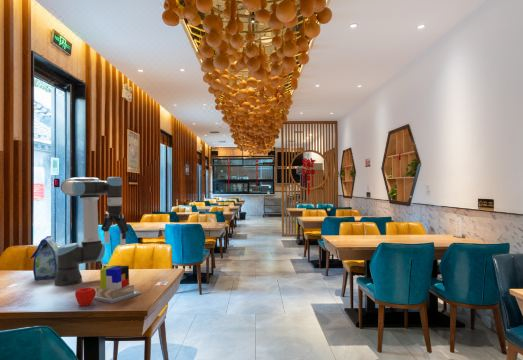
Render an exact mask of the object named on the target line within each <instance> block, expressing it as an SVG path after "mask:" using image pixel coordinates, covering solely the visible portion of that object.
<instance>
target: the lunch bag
mask: <svg viewBox="0 0 523 360" xmlns="http://www.w3.org/2000/svg"><path fill="white" fill-rule="evenodd" d="M58 248H59V247H58V243H57V242H56V239H55V238H54V236H51V235H48V236H45V238H42V239H41V240H40V242H39V244H37V246H36V249H35V251H34V252H33V253H32V255H31V256H30V259H33V265H32V266H33V267H32V270H33V278H34V280H35V281H39V280H42V279H48V278H49V279H55V277H56V274H57V271H58V261H57V251H58ZM38 279H39V280H38Z"/></svg>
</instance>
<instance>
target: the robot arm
mask: <svg viewBox="0 0 523 360" xmlns="http://www.w3.org/2000/svg"><path fill="white" fill-rule="evenodd" d="M122 190H123V180H122V177H120V176H109V177H107V178H106V180H101V179H100V178H98V177H92V176H91V177H70V178H66V179H64V180H63V181H62V182H61V183H60V191H61V192H62V193H63V194H64V195H66V196H71V197H79V199H80V200H81V202H82V214H83V216H82V217H83V218H82V219H83V220H82V222H83V223H82V224H83V240H82V241H81V242H80V243H81V244H79V243H78V242H73V243H67V244H63V245H61V246H59V247H58V251H57V261H58V271H57V274H56V277H55V278H54V282H53V283H54V285H55V286H71V285H75V284H79V283H82V282H83V277H82V274H81V270H80V268H79V267H80V264H89V263H90V264H91V263H96V262H100V261H103V259H104V256H105V253H106V252H105V251H106V247H105V244H110V228H111V227H112V224H113V223H115V224H116V225H117V227H118V229H119V230H120V231H119V232H120V234H119V237H120V238H119V239H120V241H119V243H120V246H126V239H127V233H128V232H129V231H130V229H129V226H128V223H127V220H126V215H125V214H124V213H123V214H121V213H122V212H123V206H122V205H123V197H122V196H123V191H122ZM103 195H106V198H107V199H106V200H107V201H106V203H107V204H106V205H107V207H106V212H107V213H105V214H104V219H103V221H102V225H101V228H100V229H101V231H103V237H104V242H103V241H102V239H101V238H100V237H99V220H98V219H99V213H98V200H99V199H100V197H101V196H103Z"/></svg>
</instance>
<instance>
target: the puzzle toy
mask: <svg viewBox="0 0 523 360" xmlns="http://www.w3.org/2000/svg"><path fill="white" fill-rule="evenodd" d="M99 272H100V273H99V275H100V276H99V278H100V281H99V282H100V287H101V289H120V288H122V287H125V286H127V285H129V284H130V266H129V265H115V264H114V265H109V266H107V267H102V268H100V270H99Z"/></svg>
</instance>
